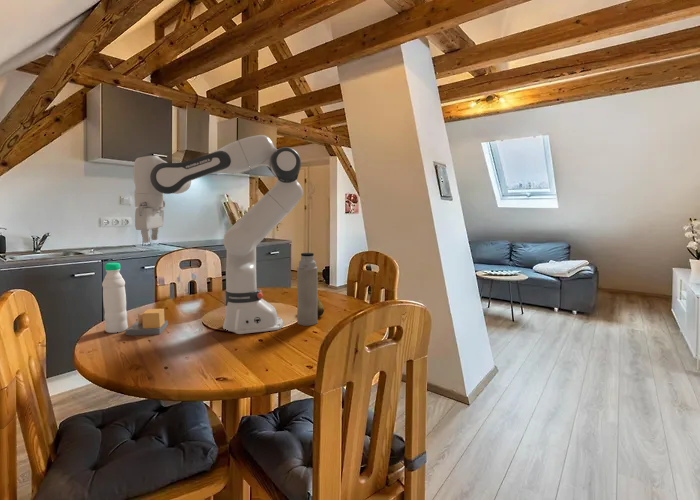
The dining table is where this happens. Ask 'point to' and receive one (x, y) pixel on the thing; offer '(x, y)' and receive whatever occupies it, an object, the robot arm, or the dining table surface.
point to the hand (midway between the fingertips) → (150, 241)
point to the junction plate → (139, 330)
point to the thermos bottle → (307, 290)
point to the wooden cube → (153, 318)
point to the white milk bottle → (114, 299)
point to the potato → (320, 308)
